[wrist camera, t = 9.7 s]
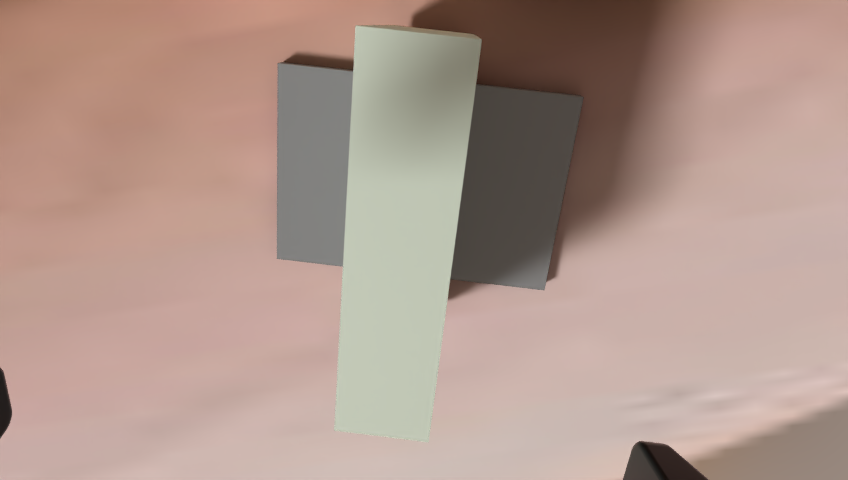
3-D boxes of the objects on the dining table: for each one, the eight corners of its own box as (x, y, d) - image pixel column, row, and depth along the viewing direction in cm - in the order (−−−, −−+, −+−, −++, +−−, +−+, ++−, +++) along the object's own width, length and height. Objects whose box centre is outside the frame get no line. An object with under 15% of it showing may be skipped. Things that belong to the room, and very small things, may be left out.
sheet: (372, 304, 21) (334, 430, 15) (394, 25, 17) (355, 25, 11) (438, 313, 21) (428, 442, 14) (473, 33, 17) (482, 39, 11)
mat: (281, 253, 21) (277, 258, 21) (282, 62, 18) (277, 63, 18) (542, 284, 21) (544, 290, 20) (580, 95, 18) (583, 97, 18)
